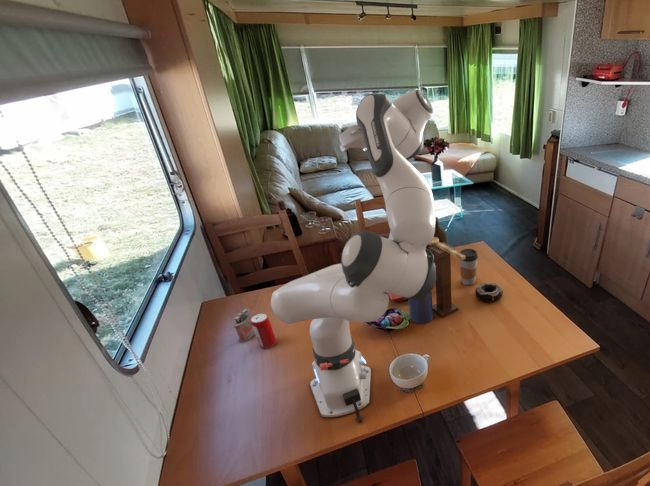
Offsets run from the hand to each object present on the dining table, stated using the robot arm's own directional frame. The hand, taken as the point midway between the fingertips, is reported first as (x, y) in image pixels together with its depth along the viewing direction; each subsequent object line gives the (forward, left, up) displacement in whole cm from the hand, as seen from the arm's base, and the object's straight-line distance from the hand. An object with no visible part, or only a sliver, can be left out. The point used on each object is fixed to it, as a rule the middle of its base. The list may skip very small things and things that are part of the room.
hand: (353, 149), depth 117 cm
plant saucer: (+15, -15, -64) cm, 68 cm away
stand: (-4, -26, -64) cm, 69 cm away
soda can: (-2, +40, -64) cm, 76 cm away
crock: (-6, -16, -64) cm, 66 cm away
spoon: (-6, -26, -36) cm, 45 cm away
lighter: (+6, +47, -64) cm, 80 cm away
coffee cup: (+12, -43, -64) cm, 78 cm away
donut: (-2, -47, -64) cm, 80 cm away
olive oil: (+31, -34, -64) cm, 79 cm away
